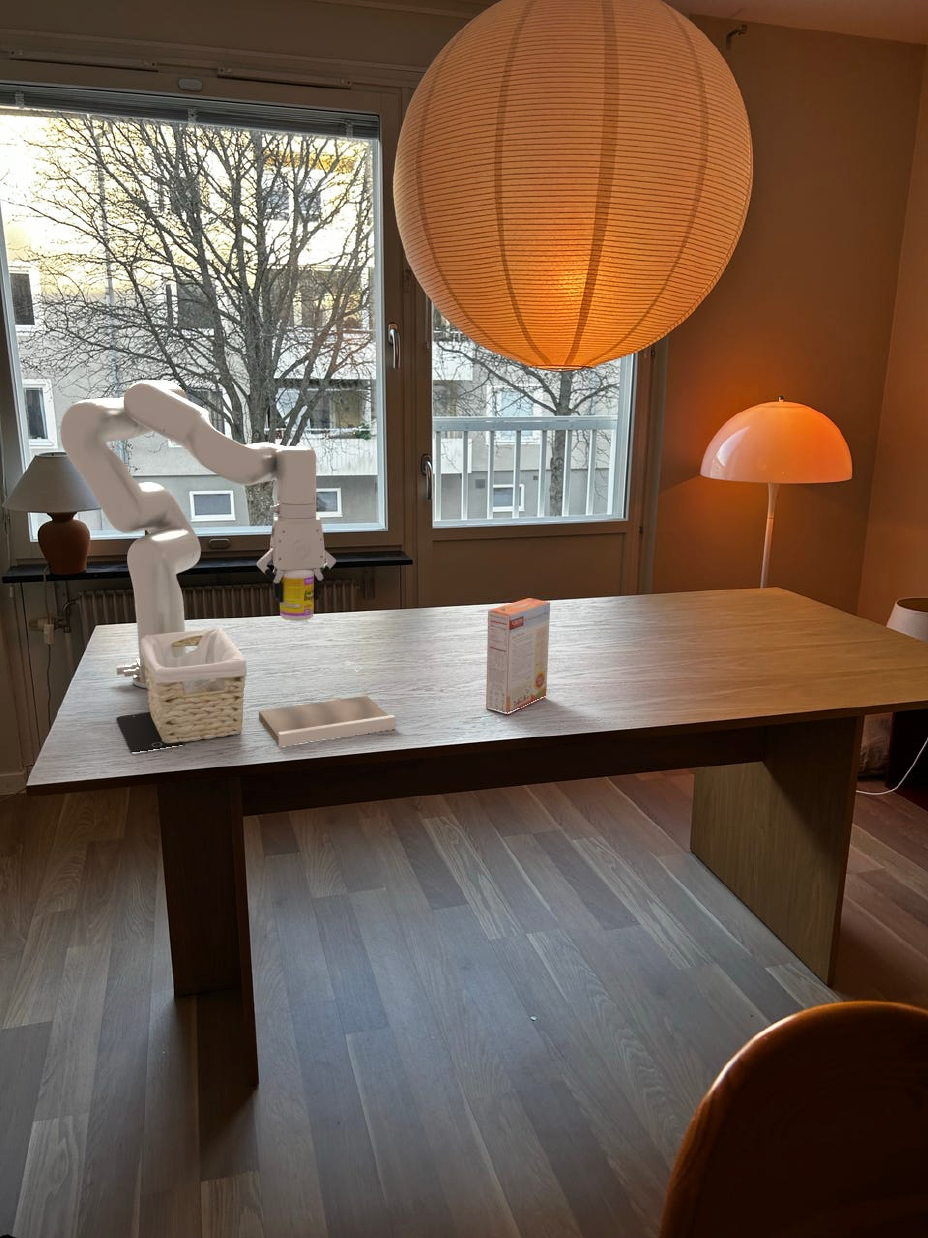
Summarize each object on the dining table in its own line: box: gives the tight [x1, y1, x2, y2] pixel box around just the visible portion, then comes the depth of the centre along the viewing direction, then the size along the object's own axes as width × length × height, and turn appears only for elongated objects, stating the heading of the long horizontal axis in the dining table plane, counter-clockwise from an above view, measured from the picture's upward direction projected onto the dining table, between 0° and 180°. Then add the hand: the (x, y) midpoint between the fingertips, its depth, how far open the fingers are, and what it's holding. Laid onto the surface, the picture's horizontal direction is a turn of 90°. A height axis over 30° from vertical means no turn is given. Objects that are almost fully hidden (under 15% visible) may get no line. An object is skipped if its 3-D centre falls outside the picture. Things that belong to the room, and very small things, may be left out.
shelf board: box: [258, 695, 389, 745], centre depth 170 cm, size 22×14×2 cm, turn 117°
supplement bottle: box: [279, 569, 315, 622], centre depth 178 cm, size 7×7×13 cm
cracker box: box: [485, 597, 551, 713], centre depth 181 cm, size 14×6×21 cm, turn 141°
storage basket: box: [141, 628, 248, 743], centre depth 168 cm, size 24×16×15 cm
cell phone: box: [116, 711, 185, 753], centre depth 164 cm, size 9×18×1 cm, turn 29°
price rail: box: [278, 714, 396, 748], centre depth 164 cm, size 22×1×2 cm, turn 117°
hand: (297, 599), depth 179 cm, fingers closed on supplement bottle, 6 cm apart
